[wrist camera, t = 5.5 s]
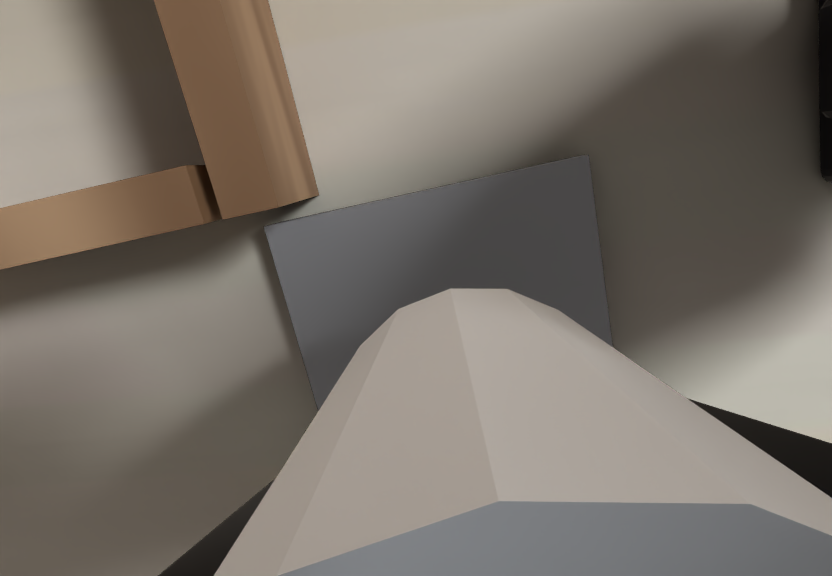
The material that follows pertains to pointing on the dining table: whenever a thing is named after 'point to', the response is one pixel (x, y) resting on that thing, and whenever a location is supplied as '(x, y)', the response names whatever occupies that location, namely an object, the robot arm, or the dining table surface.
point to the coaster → (440, 257)
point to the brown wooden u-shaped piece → (217, 135)
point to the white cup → (522, 464)
